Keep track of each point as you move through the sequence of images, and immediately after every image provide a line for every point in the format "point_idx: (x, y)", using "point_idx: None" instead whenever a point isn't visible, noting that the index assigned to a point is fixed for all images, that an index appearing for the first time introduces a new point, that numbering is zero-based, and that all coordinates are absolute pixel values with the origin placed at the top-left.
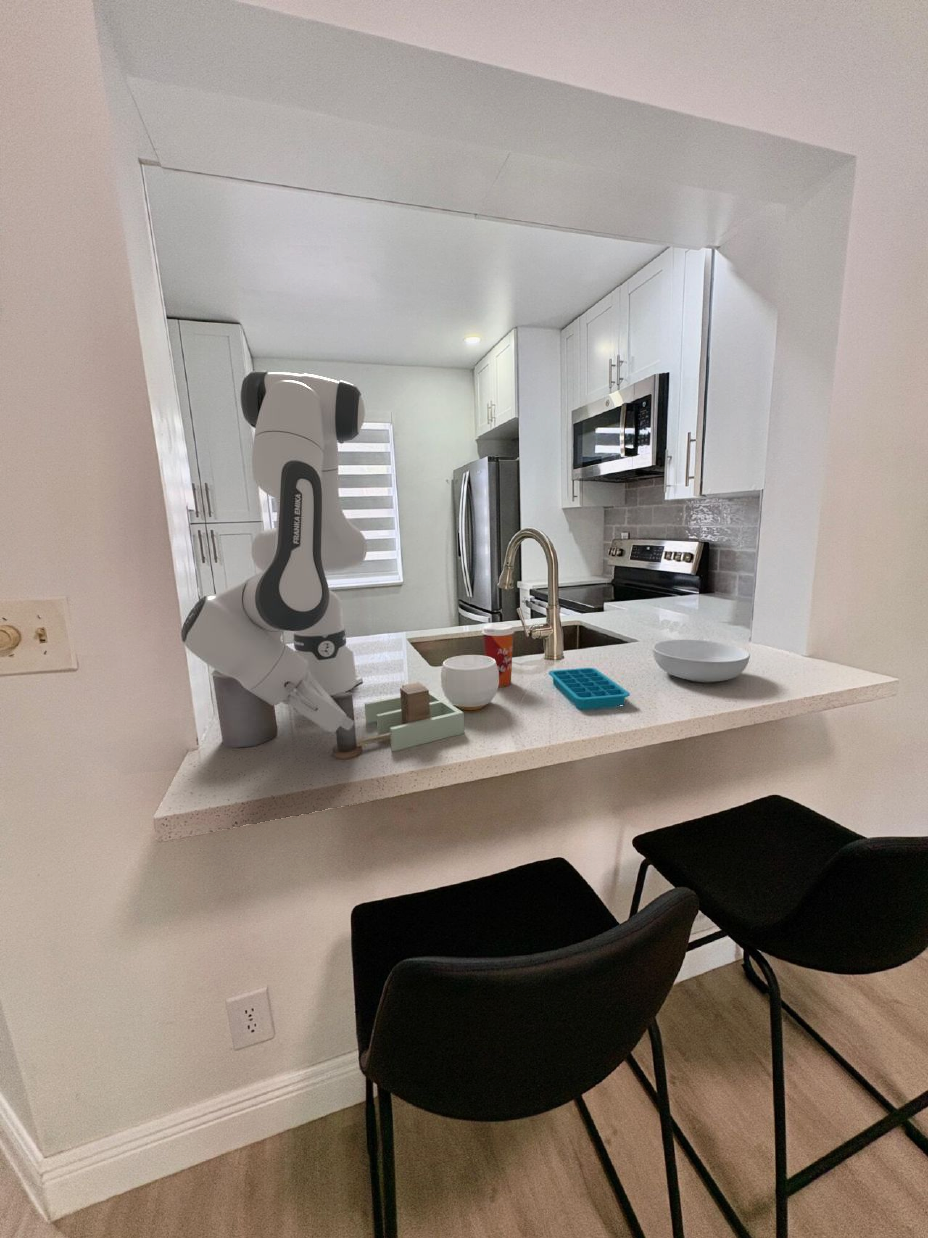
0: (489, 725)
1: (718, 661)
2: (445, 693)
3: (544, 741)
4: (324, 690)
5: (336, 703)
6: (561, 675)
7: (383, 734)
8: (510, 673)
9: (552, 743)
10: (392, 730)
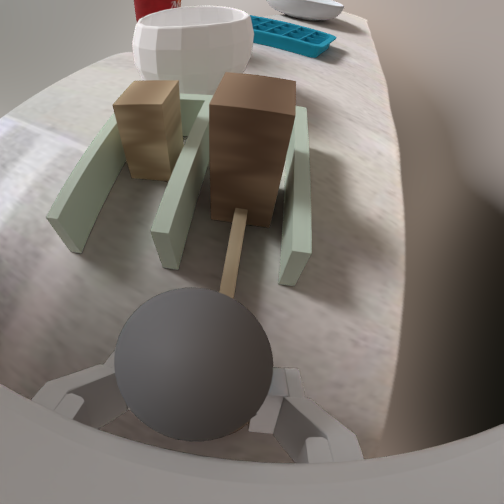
0: None
1: (340, 6)
2: None
3: (381, 114)
4: (48, 441)
5: (404, 469)
6: None
7: (226, 267)
8: None
9: (390, 115)
10: (310, 253)
